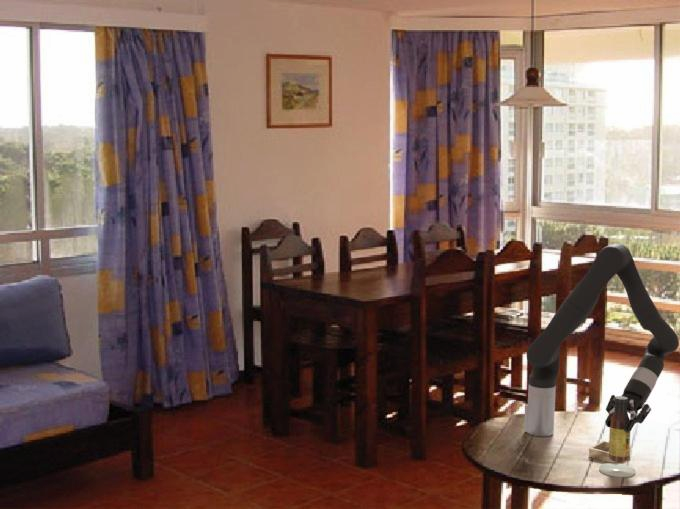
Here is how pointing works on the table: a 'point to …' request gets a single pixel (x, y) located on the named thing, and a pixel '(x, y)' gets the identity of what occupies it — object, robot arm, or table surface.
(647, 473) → the table surface
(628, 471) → the trivet
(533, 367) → the robot arm
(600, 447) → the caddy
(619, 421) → the sauce bottle
